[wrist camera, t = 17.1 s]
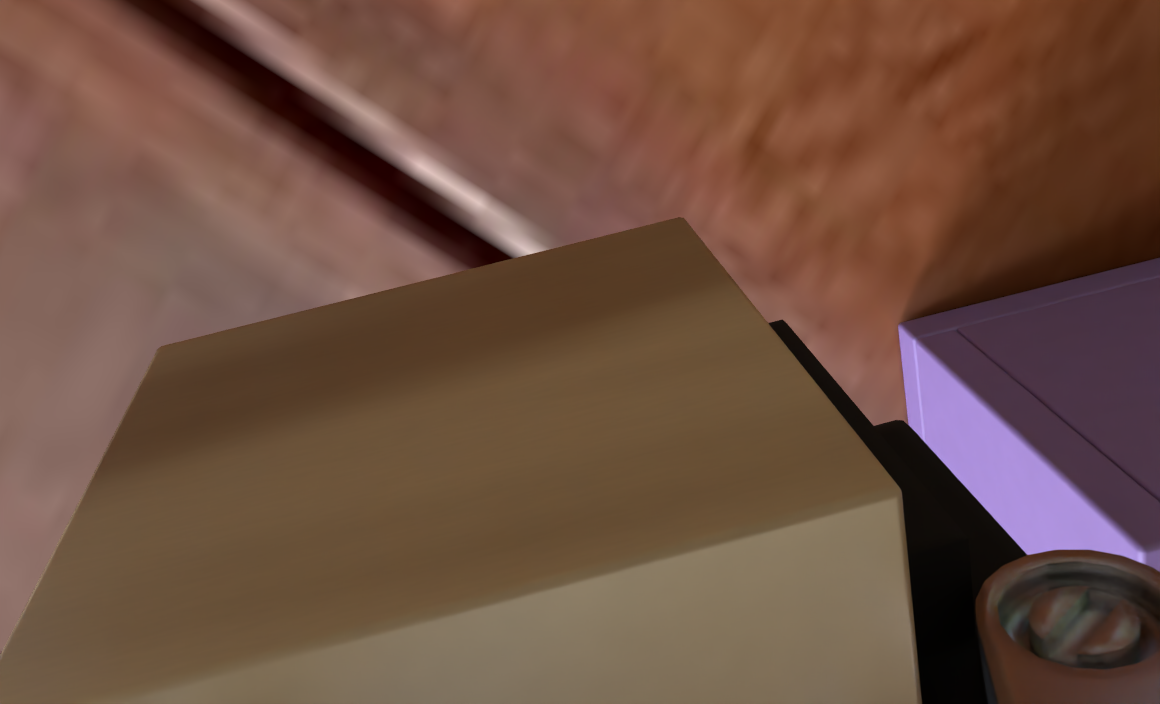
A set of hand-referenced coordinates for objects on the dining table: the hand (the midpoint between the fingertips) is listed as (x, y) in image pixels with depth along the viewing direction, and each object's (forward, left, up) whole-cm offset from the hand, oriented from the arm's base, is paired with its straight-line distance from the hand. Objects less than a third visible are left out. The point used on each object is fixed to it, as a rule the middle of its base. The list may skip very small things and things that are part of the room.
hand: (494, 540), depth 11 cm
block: (0, 0, -1) cm, 1 cm away
